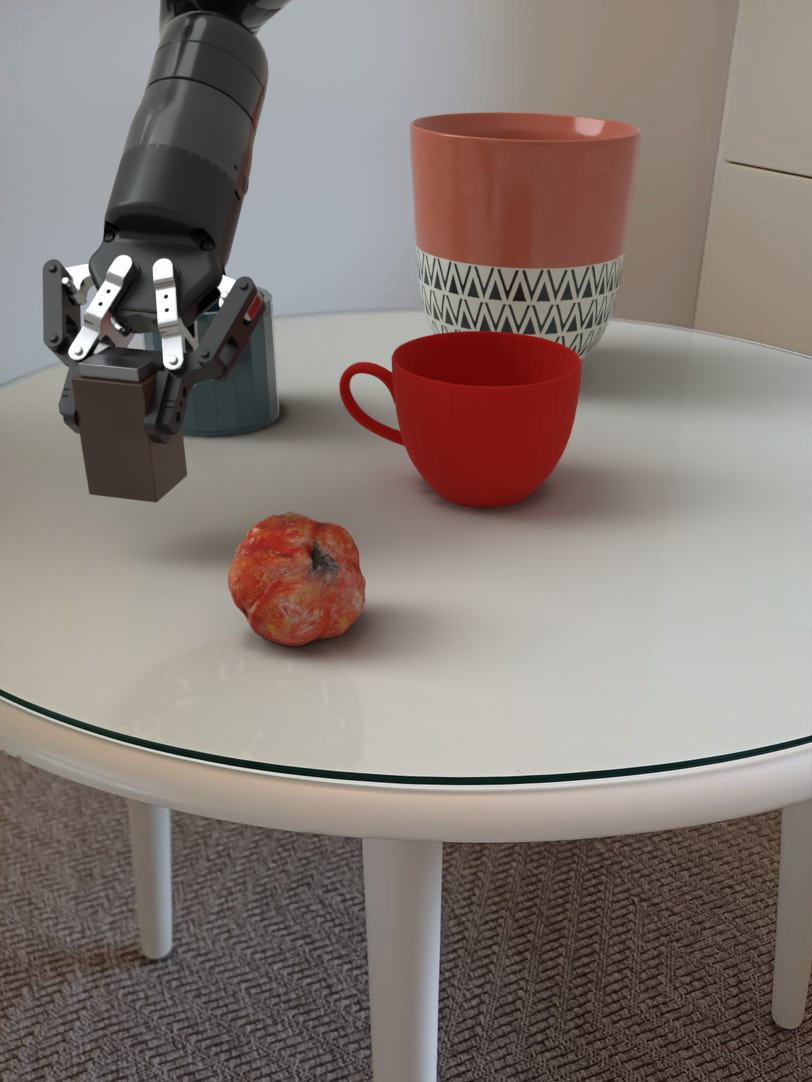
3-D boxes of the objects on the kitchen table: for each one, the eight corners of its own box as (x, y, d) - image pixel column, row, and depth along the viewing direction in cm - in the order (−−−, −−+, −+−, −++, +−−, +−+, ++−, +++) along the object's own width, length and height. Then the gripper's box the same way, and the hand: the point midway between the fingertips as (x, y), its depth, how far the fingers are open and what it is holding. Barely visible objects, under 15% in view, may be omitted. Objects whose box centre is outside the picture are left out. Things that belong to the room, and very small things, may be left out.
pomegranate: (220, 663, 65) (252, 637, 56) (208, 539, 66) (237, 494, 57) (344, 653, 68) (394, 627, 59) (331, 534, 69) (378, 490, 59)
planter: (470, 334, 117) (474, 107, 106) (648, 364, 109) (673, 123, 98) (371, 386, 101) (365, 127, 91) (570, 424, 94) (589, 147, 83)
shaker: (88, 495, 68) (68, 364, 64) (123, 468, 71) (105, 343, 67) (156, 503, 67) (140, 371, 63) (188, 475, 71) (174, 349, 67)
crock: (143, 441, 88) (126, 313, 83) (164, 398, 97) (150, 280, 92) (274, 441, 89) (265, 314, 84) (284, 399, 98) (276, 281, 93)
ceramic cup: (366, 448, 88) (363, 320, 83) (580, 468, 86) (590, 338, 81) (317, 515, 77) (309, 373, 72) (561, 540, 75) (571, 394, 70)
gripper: (47, 131, 67) (-32, 391, 63) (274, 147, 65) (208, 417, 61) (103, 210, 74) (35, 447, 70) (309, 226, 72) (251, 472, 68)
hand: (116, 432), depth 66 cm, fingers closed on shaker, 4 cm apart
